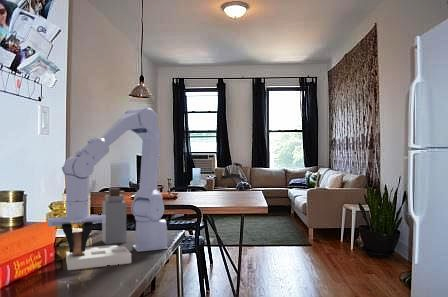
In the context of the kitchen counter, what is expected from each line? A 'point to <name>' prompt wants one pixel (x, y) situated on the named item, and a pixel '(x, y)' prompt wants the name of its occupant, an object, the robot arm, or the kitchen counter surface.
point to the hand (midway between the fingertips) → (77, 251)
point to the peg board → (99, 258)
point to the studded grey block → (101, 247)
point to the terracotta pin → (77, 244)
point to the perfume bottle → (114, 218)
